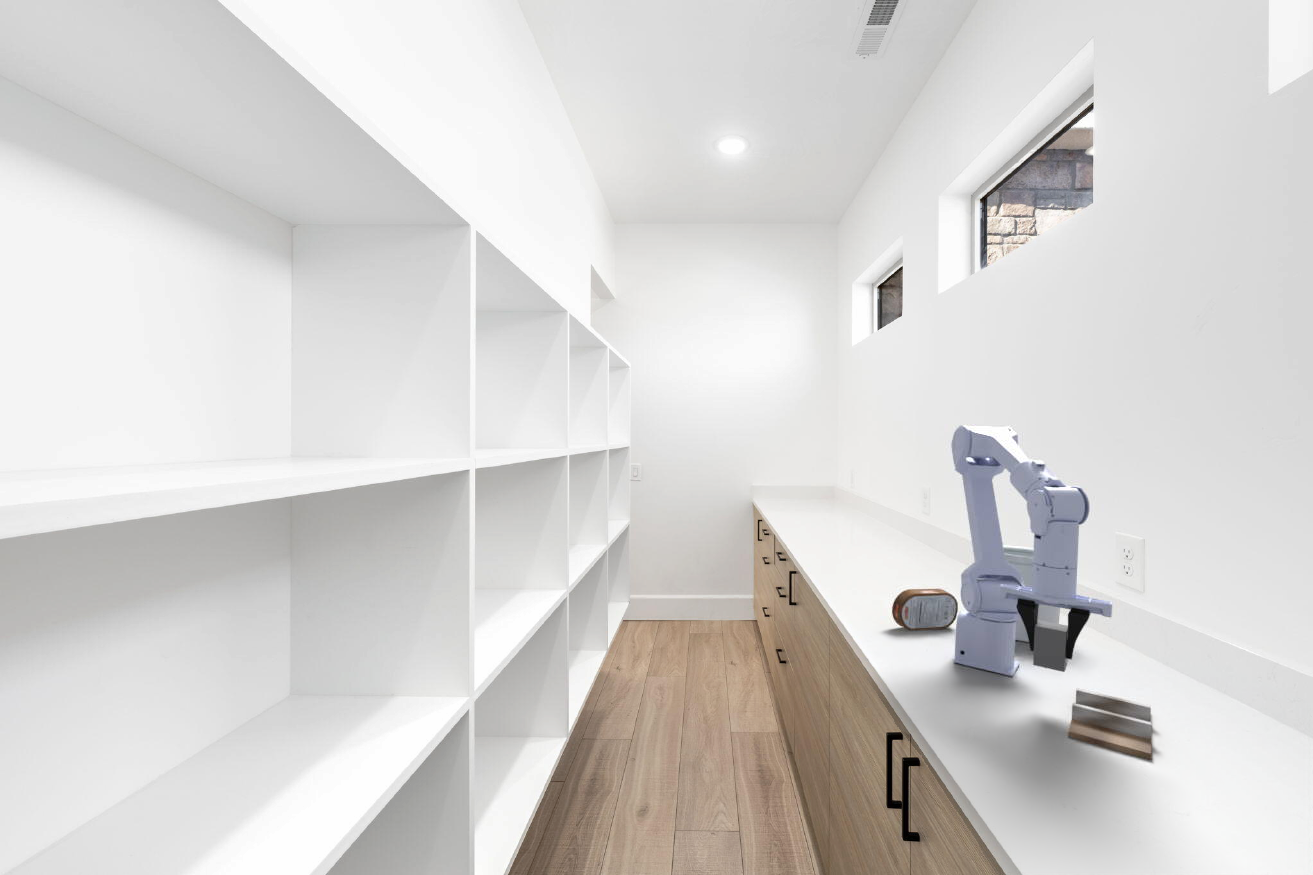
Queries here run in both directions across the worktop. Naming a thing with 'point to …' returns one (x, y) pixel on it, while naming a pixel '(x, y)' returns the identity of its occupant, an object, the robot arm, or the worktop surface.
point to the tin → (924, 609)
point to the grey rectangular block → (1050, 645)
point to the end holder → (1111, 723)
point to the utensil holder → (1024, 563)
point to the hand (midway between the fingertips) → (1050, 653)
